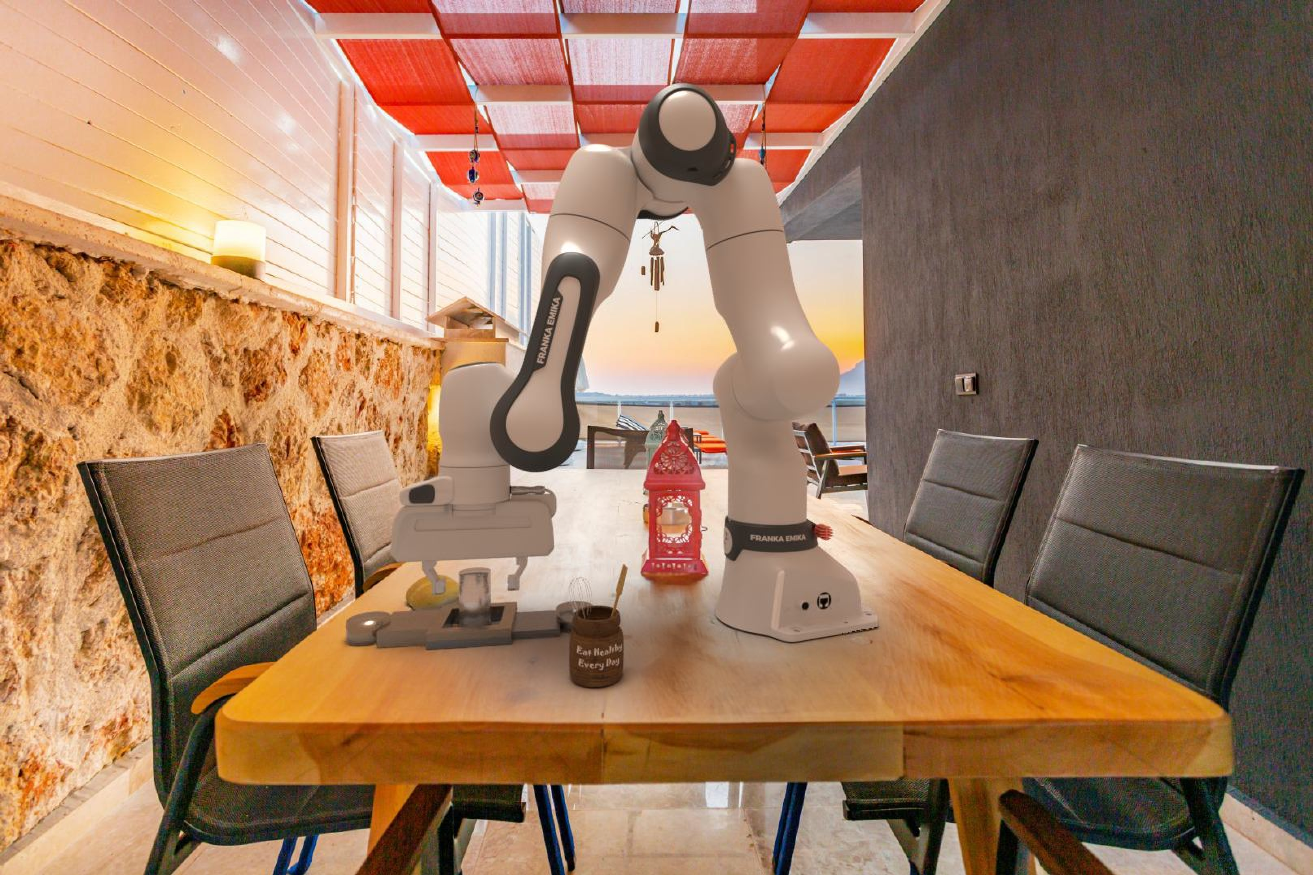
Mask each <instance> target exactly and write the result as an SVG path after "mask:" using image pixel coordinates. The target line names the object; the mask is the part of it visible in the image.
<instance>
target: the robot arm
mask: <svg viewBox="0 0 1313 875" xmlns="http://www.w3.org/2000/svg"><path fill="white" fill-rule="evenodd" d="M737 143H738V142H737V139H736V137H735V135H734V134H733V133H732V131H731V130H730V129H729V127H728V125H727V122H726V119H725V117H724V114H723V112H722V110H721V109H720V107H719V105H718V104H717V101H716V100H714V99H713V97H712V96H711V95H710V94H709V93H708V92H707V91H705V90H704V89H702V88H701V87H699V86H697V85H694V84H692V83H688V82H687V83H686V82H679V83H678V82H677V83H674V84H670V85H668V86H666V87H664V88H663V89H661V90H660V91H658V92H657V93H656V95H654V96H653V97H652V98H651V99H650V101H649V102H648V103H647V105H646V106H645V108H644V109H643V112H642V114H641V117H640V118H639V122H638V127H637V129H636V132H635V134H634V137H633V140H632V143H631V144H630V145H628V146H625V147H623V148H616V147H613V146H611V145H608V144H603V143H591V144H586V145H584V146H582V147H581V146H580V147H579V148H578V149H577V150H576V151H575V152H574V153H573V154H572V155H571V157H570V159H569V161H568V163H567V165H566V167H565V170H564V171H563V174H562V177H561V178H560V181H559V183H558V186H557V189H556V192H555V195H554V199H553V202H552V205H551V209H550V212H549V216H548V219H547V224H546V227H545V233H544V239H543V246H542V251H541V252H542V253H541V254H542V255H541V269H540V270H541V272H540V274H541V276H540V294H539V300H538V305H537V309H536V312H535V317H534V321H533V324H532V328H531V332H530V335H529V339H528V343H527V346H526V349H525V350H526V351H525V354H524V358H523V361H522V365H521V368H520V369H519V370H520V371H519V372H518V374H516V373H514V372H513V371H512V370H510V369H508V368H507V367H506V366H504V365H503V364H502V363H500V362H497V361H476V362H469V363H465V364H460V365H457V366H455V367H453V368H451V369H449V370H448V372H447V373H446V374H445V375H444V377H443V378H442V382H441V385H440V387H441V388H440V390H439V391H440V394H439V403H438V434H439V437H440V440H441V441H440V442H441V445H442V446H441V447H442V449H441V454H440V458H439V462H438V463H439V465H438V468H439V469H438V470H439V471H438V472H439V473H438V474H437V476H429V477H426V478H424V479H423V480H420V481H417V482H415V483H411V484H409V485H407V486H405V487H403V488H402V489H401V490H400V492H399V503H400V504H401V505H403V506H402V507H401V508H400V509H398V510H397V512H396V514H395V515H394V517H393V518H394V519H393V523H392V529H391V537H390V538H391V541H390V555H391V557H392V558H393V559H394V560H395V561H396V562H397V563H415V562H421V570H422V572H423V573H424V575H425V577H427V578H428V579H429V581H430V582H431V588H432V595H440V594H444V593H445V592H446V585H445V584H446V578H439V576H438V575H439V574H438V573H437V571H436V569H435V568H436V565H438V564H437V563H438V561H440V562H441V561H442V562H443V561H462V560H484V559H485V560H486V559H487V560H489V559H507V558H508V559H510V558H515V562H516V563H515V565H516V566H518V568H517V569H516V571H515V573H513V574H508V576H507V579H506V580H507V583H506V584H507V591H508V592H511V591H512V592H513V591H520V584H521V582H520V581H521V576H522V575H523V573H524V571H525V569H526V568H527V566H528V563H529V561H528V560H529V558H530V557H531V558H533V557H548V556H550V555H551V553H552V552H553V551H554V549H555V536H554V535H555V534H554V525H553V517H554V516H555V515H556V513H557V509H558V508H557V506H558V505H557V497H556V494H555V493H554V491H552V490H551V489H549V488H546V486H545V485H535V486H534V485H533V486H530V485H529V486H526V485H512V484H511V467H512V468H515V469H517V470H520V471H522V472H526V473H544V472H549V471H552V470H554V469H557V468H558V467H560V466H562V465H563V464H564V463H565V462H566V461H568V459H569V458H570V457H571V456H572V455H573V453H574V451H575V450H576V449H577V446H578V443H579V439H580V435H581V425H582V424H581V418H580V417H581V416H580V414H579V411H578V408H577V402H576V382H577V378H578V374H579V368H580V366H581V362H582V361H581V360H582V357H583V353H584V350H585V349H584V348H585V346H586V345H585V344H586V341H587V337H588V332H589V329H590V325H591V324H592V323H591V322H592V321H593V318H594V316H595V314H596V312H597V310H598V308H599V307H600V306H601V305H602V303H603V302H605V300H607V299H608V298H609V297H610V296H611V295H612V294H613V293H614V290H615V289H616V286H617V284H618V283H619V280H620V277H621V275H622V272H623V270H624V267H625V264H626V261H627V258H628V254H629V250H630V246H631V243H632V238H633V232H634V229H635V225H636V221H637V220H650V221H658V222H662V221H663V222H665V221H671V220H673V219H676V218H677V217H679V216H682V214H684V213H685V212H687V211H688V210H691V212H692V213H693V214H694V215H695V217H696V219H697V221H698V224H699V226H700V229H701V230H702V236H703V247H704V251H705V257H706V262H707V268H708V273H709V279H710V285H711V291H712V295H713V296H712V297H713V301H714V302H713V303H714V307H715V309H716V311H717V313H718V314H719V315H720V316H721V317H722V318H723V320H724V322H725V324H726V325H727V328H728V330H729V332H730V335H731V338H732V340H733V342H734V345H735V349H736V352H734V353H733V354H731V355H729V357H727V358H726V360H724V361H723V363H722V364H721V365H720V366H719V368H717V370H716V373H715V374H714V377H713V380H712V391H713V396H714V399H715V401H716V403H717V406H718V408H719V413H720V414H719V415H720V420H721V421H720V422H721V428H722V432H723V438H724V444H725V449H726V458H727V460H726V461H727V515H726V516H725V518H724V528H723V534H722V535H723V536H722V538H723V540H722V541H723V543H722V544H723V551H724V552H723V553H724V556H725V561H724V571H723V578H722V583H721V589H720V592H719V598H718V600H717V604H716V607H715V610H714V614H715V616H716V618H717V619H718V620H719V621H721V622H722V623H724V624H726V625H727V626H729V627H732V628H734V629H738V630H741V631H743V632H744V631H745V632H750V633H755V634H759V635H765V636H768V637H772V638H775V639H778V640H780V641H784V642H789V643H795V642H801V641H807V640H812V639H818V638H825V637H831V636H837V635H842V633H843V634H849V633H853V632H852V631H855V632H857V631H856V630H860V631H862V630H861V629H866V630H870V629H869V628H872V629H875V628H874V627H877V626H878V627H879V617H878V615H877V614H876V612H874V610H872V609H871V608H870V607H869V606H867V604H864V603H863V602H862V599H861V591H860V587H859V584H858V581H857V579H856V577H855V576H854V574H853V573H852V572H851V571H850V570H849V569H847V567H845V565H843V564H842V563H840V562H839V561H838V560H836V559H835V558H834V557H833V555H830V554H829V553H828V552H827V551H826V550H824V548H822V547H821V546H820V545H819V541H818V538H820V539H821V540H823V541H829V540H831V539H832V538H831V537H834V535H833V534H834V532H833V531H834V529H832V527H831V526H828V525H825V524H823V523H818V524H817V523H815V522H814V521H812V520H810V519H808V518H807V514H808V513H807V512H808V511H807V510H808V508H807V507H808V464H807V462H806V458H805V457H804V456H803V454H802V453H801V451H800V448H799V446H798V443H797V440H796V436H795V432H794V431H795V430H794V426H793V422H794V421H798V420H799V421H800V420H801V419H805V418H807V417H810V416H812V415H814V414H817V413H818V412H820V411H822V410H824V409H825V408H826V407H828V406H829V404H831V403H832V401H833V400H834V399H835V397H836V395H837V393H838V391H839V387H840V382H841V371H840V365H839V362H838V358H837V357H836V356H835V354H834V353H833V351H832V350H831V349H830V348H829V346H828V345H826V344H825V343H824V342H822V341H821V340H820V339H819V338H818V336H817V335H816V334H815V332H814V330H813V329H812V326H811V324H810V322H809V320H808V318H807V316H806V313H805V312H804V310H803V307H802V304H801V302H800V300H799V297H798V293H797V291H796V287H795V283H794V278H793V272H792V267H791V266H792V265H791V261H790V255H789V250H788V245H787V244H788V243H787V239H786V232H785V226H784V223H783V222H784V221H783V217H782V213H781V210H780V204H779V202H778V198H777V195H776V192H775V190H774V186H773V184H772V181H771V178H770V175H769V173H768V171H767V170H766V168H765V166H763V164H761V163H760V162H759V161H757V160H755V159H753V158H747V157H737V150H738V149H737V148H738V144H737ZM732 145H733V150H732ZM528 557H529V558H528ZM878 627H877V628H878ZM848 632H849V633H848Z"/></svg>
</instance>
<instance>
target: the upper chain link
mask: <svg viewBox="0 0 1313 875" xmlns="http://www.w3.org/2000/svg"><path fill="white" fill-rule="evenodd" d="M516 611H517V612H518V601H504V602H491V614H494V613H503V615H502V619H501V620H500V623H499V624H491V625H486V626H469V627H459V626H456V627H455V626H454V627H453V626H451V627H450V628H446V627H447V625H448V623H449V621H450V619H451V617H452V616H458V615H459V605H443V606H442V608H441V609H435V610H400V611H398V610H397V611H392V613H390V612H387V611H381V610H380V611H379V610H377V611H367V612H362V613H358V614H355V615H353V616H351V617H349V618H348V619H346V621H345V627H346V628H345V633H346V634H345V635H346V636H345V637H346V638H345V639H346V640H345V641H346V644H347V645H349V646H354V647H355V646H356V647H361V646H365V647H366V646H371V645H375V644H376V649H383V648H385V649H386V648H398V647H413V646H414V647H415V646H426V642H429V641H445V640H461V639H477V638H493V637H509V636H511V635H512V630H513V625H514V621H515V616H516Z"/></svg>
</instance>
